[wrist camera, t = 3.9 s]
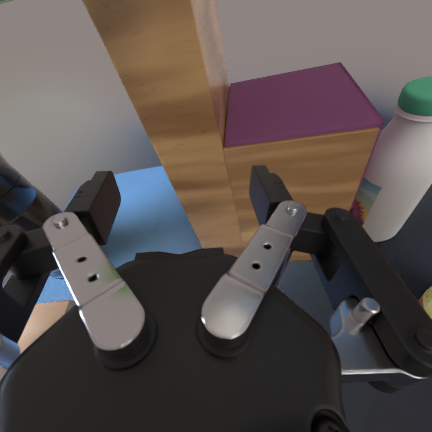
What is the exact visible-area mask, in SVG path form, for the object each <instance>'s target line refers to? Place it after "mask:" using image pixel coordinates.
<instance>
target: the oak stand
mask: <svg viewBox="0 0 432 432" xmlns="http://www.w3.org/2000/svg"><path fill="white" fill-rule="evenodd" d="M82 1H83V3H84V5H85V7H86V9H87V11H88V13H89V15H90V17H91V19H92V21H93V23H94V26H95V28H96V30H97V32H98V34H99V36H100V38H101V40H102V42H103V44H104V46H105V48H106V50H107V52H108V54H109V56H110V58H111V61H112V63H113V64H114V67H115V69H116V70H117V73H118V75H119V77H120V79H121V81H122V83H123V85H124V87H125V89H126V91H127V93H128V95H129V98H130V100H131V102H132V104H133V106H134V108H135V110H136V112H137V114H138V116H139V118H140V120H141V122H142V124H143V126H144V128H145V131H146V132H147V135H148V137H149V139H150V141H151V143H152V145H153V147H154V149H155V151H156V153H157V155H158V157H159V159H160V161H161V163H162V166H163V168H164V170H165V172H166V174H167V176H168V178H169V180H170V182H171V184H172V186H173V188H174V190H175V192H176V194H177V196H178V198H179V201H180V203H181V205H182V207H183V209H184V211H185V213H186V215H187V217H188V219H189V221H190V223H191V225H192V227H193V229H194V231H195V233H196V236H197V238H198V240H199V242H200V244H201V246H202V248H218V247H223V251H224V254H229V255H233V256H235V257H239V256H240V254H241V253H242V251H243V250H244V248H245V247H246V245H247V244H248V243H249V241H250V240H251V238H252V237H253V235H254V234H255V232H256V231H257V230H258V228H259V227H260V226H259V223H258V220H257V217H256V214H255V211H254V209H253V206H252V203H251V200H250V196H249V185H250V176H251V169H252V166H253V165H266V167H267V169H268V170H269V172H270V173H275V174H276V175H278V176H279V177H280V178H281V179H282V181H283V184H284V185H285V186H286V188H287V190H288V192H289V193H290V195H291V197H292V198H293V200H294V201H296V202H299V203H301V204H303V205H304V206H305V207H306V209H307V212H311V213H316V214H322V215H324V213H325V211H326V210H327V209H329V208H333V207H337V208H342V209H345V210H347V211H349V210H350V208H351V205H352V202H353V199H354V197H355V194H356V191H357V189H358V186H359V183H360V181H361V178H362V175H363V173H364V170H365V167H366V165H367V162H368V159H369V157H370V154H371V151H372V149H373V146H374V143H375V141H376V138H377V135H378V133H379V130H380V129H379V127H372V128H365V129H357V130H350V131H342V132H335V133H327V134H320V135H313V136H305V137H298V138H290V139H283V140H276V141H268V142H261V143H253V144H246V145H238V146H231V147H225V135H226V124H227V114H228V103H229V93H230V87H229V82H228V75H227V69H226V62H225V55H224V49H223V43H222V36H221V30H220V24H219V16H218V10H217V4H216V0H82ZM307 260H312V259H311V256H310V254H308V253H303V252H298V251H293V253H292V255H291V257H290V259H289V261H307Z"/></svg>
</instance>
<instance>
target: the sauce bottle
mask: <svg viewBox="0 0 432 432" xmlns="http://www.w3.org/2000/svg"><path fill="white" fill-rule="evenodd" d="M418 302H419V303H420V304H421V306H422V307H423V308H424V310H425V311H426V312H427V314H428V315H429V316H430V318H431V319H432V286H431V287H430V288H429V289H427V290H426V292H425V293H424V294H423V295H422V297H421V298H420V299H419V301H418Z"/></svg>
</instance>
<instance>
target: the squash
mask: <svg viewBox="0 0 432 432" xmlns="http://www.w3.org/2000/svg"><path fill="white" fill-rule="evenodd" d="M75 304H76V302H75V301H73V300H66V301H57V302H49V303H41V304H36V305H35V307H34V309H33V311H32V313H31V316H30V318H29V320H28V322H27V324H26V326H25V329H24V331H23V333H22V335H21V337H20V339H19V341H18V345H19V347H20V354H21V353H22V352H23V351H24V350H25V349H26V348H27V347H28V346H29V345H31V344H32V343H33V342H34V341H35V340H36V339H37V338H38V337H40V336H41V335H42V334H43V333H44V332H45V331H46V330H47V329H48V328H50V327H51V326H52V325H53V324H54V323H55V322H56V321H57V320H58V319H60V318H61V317H62V316H63V315H64V314H65V313H66V312H67V311H69V310H70V309H71V308H72V307H73V306H74V305H75Z"/></svg>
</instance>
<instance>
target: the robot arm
mask: <svg viewBox="0 0 432 432" xmlns="http://www.w3.org/2000/svg"><path fill="white" fill-rule="evenodd" d="M249 196H250V200H251V203H252V206H253V209H254V211H255V214H256V217H257V220H258V223H259V226H260V227H259V228H258V230H257V231H256V232H255V234H254V235H253V237H252V238H251V240H250V241H249V243H248V244H247V245H246V247H245V248H244V250H243V251H242V253H241V254H240V256H239V257H235V256H233V255H229V254H224V251H223V247H218V248H203V249H199V250H195V251H192V252H188V253H184V254H172V253H165V252H144V253H136V256H135V260H133V261H130V262H127V263H125V264H123V265H121V266H119V267H118V268H116V269H115V268H114V267H113V265H112V264H111V262H110V261H109V259H108V258H107V257H106V255H105V254H104V252H103V251H102V249H101V248H100V245H106V242H107V239H108V237H109V234H110V231H111V228H112V226H113V223H114V220H115V217H116V215H117V212H118V209H119V206H120V203H121V196H120V192H119V189H118V186H117V183H116V180H115V177H114V175H113V173H112V171H97V172H96V173H95V174H94V176H93V178H92V180H89V181H87V182H85V183H84V184H83V185H81V186H80V188H79V189H78V191H77V193H76V194H75V196H74V198H73V199H72V200H71V202H70V203H69V205H68V207H67V208H66V210H65V211H64V212H63V211H62V210H61V209H60V208H58V207H57V206H56V205H55V204H54V203H53V202H52V201H50V200H49V199H48V198H47V197H46V196H45V195H44V194H43V193H42V192H40V191H39V190H38V189H37V188H36V187H35V186H34V185H32V184H31V183H30V182H29V181H28V180H27V179H26V178H25V177H23V176H22V175H21V174H20V173H19V172H18V171H17V170H16V169H14V168H13V167H12V166H11V165H10V164H9V163H8V162H7V161H6V159H5V158H4V157H3V156H2V155H1V153H0V432H350V430H349V427H348V424H347V421H346V418H345V413H344V408H343V402H342V393H341V383H350V382H368V383H369V384H370V385H372V386H373V387H374V388H376V389H377V390H379V391H381V392H384V393H394V392H396V391H398V390H401V389H403V388H405V387H407V386H410V385H412V384H414V383H417V382H419V381H421V380H423V379H426V378H428V377H430V376H432V319H431V318H430V316H429V315H428V314H427V312H426V311H425V310H424V308H423V307H422V306H421V304H420V303H419V302H418V300H417V299H416V298H415V296H414V295H413V294H412V292H411V291H410V290H409V288H408V287H407V286H406V284H405V283H404V282H403V280H402V279H401V278H400V276H399V275H398V274H397V272H396V271H395V270H394V268H393V267H392V266H391V264H390V263H389V261H388V260H387V259H386V257H385V256H384V255H383V253H382V252H381V251H380V249H379V248H378V247H377V245H376V244H375V243H374V241H373V240H372V239H371V237H370V236H369V235H368V233H367V232H366V231H365V229H364V228H363V227H362V225H361V224H360V223H359V221H358V220H357V219H356V217H355V216H354V215H353V214H352V213H351V212H349V211H347V210H345V209H342V208H337V207H333V208H329V209H327V210H326V211H325V213H324V215H322V214H316V213H311V212H307V209H306V207H305V206H304V205H303V204H301V203H299V202H296V201H294V200H293V198H292V197H291V195H290V193H289V192H288V190H287V188H286V186H285V185H284V184H283V181H282V179H281V178H280V177H279V176H278V175H276V174H275V173H270V172H269V170H268V169H267V167H266V165H253V166H252V169H251V176H250V185H249ZM293 251H298V252H303V253H308V254H310V256H311V259H312V261H313V263H314V266H315V268H316V270H317V272H318V275H319V277H320V279H321V282H322V284H323V286H324V289H325V291H326V293H327V295H328V298H329V300H330V302H331V305H332V307H333V309H334V311H335V312H334V313H333V314H332V316H331V317H330V322H329V323H330V328H331V334H332V335H331V337H330V335H329V334H328V332H327V331H326V330H325V329H324V328H323V327H322V326H321V325H320V324H319V323H318V322H317V321H316V320H314V319H313V318H312V317H311V316H310V315H308V314H307V313H306V312H305V311H304V310H302V309H301V308H300V307H299V306H298V305H296V304H295V303H294V302H293V301H292V300H291V299H289V298H288V297H287V296H286V295H285V294H283V293H282V292H281V291H280V290H279V289H277V286H278V284H279V281H280V279H281V276H282V274H283V272H284V270H285V268H286V266H287V264H288V261H289V259H290V257H291V255H292V253H293ZM8 271H10V272H11V273H12V276H11V277H10V279H9V280H8V282H7V284H6V285H5V287H4V288H3V287H2V282H3V279H4V277H5V276H6V274H7V272H8ZM49 275H51V276H53V277H55V278H64V279H65V281H66V283H67V285H68V287H69V289H70V291H71V293H72V295H73V297H74V300H75V302H76V304H75V305H74V306H73V307H72V308H71V309H70V310H69V311H67V312H66V313H65V314H64V315H63V316H62V317H61V318H60V319H58V320H57V321H56V322H55V323H54V324H53V325H52V326H51V327H50V328H48V329H47V330H46V331H45V332H44V333H43V334H42V335H41V336H40V337H38V338H37V339H36V340H35V341H34V342H33V343H32V344H31V345H29V346H28V347H27V348H26V349H25V350H24V351H23V352H22V353H21V354H20V347H19V345H18V341H19V339H20V337H21V335H22V333H23V331H24V329H25V326H26V324H27V322H28V320H29V318H30V316H31V313H32V311H33V309H34V307H35V305H36V303H37V301H38V298H39V296H40V294H41V292H42V290H43V288H44V286H45V283H46V281H47V279H48V277H49Z"/></svg>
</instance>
